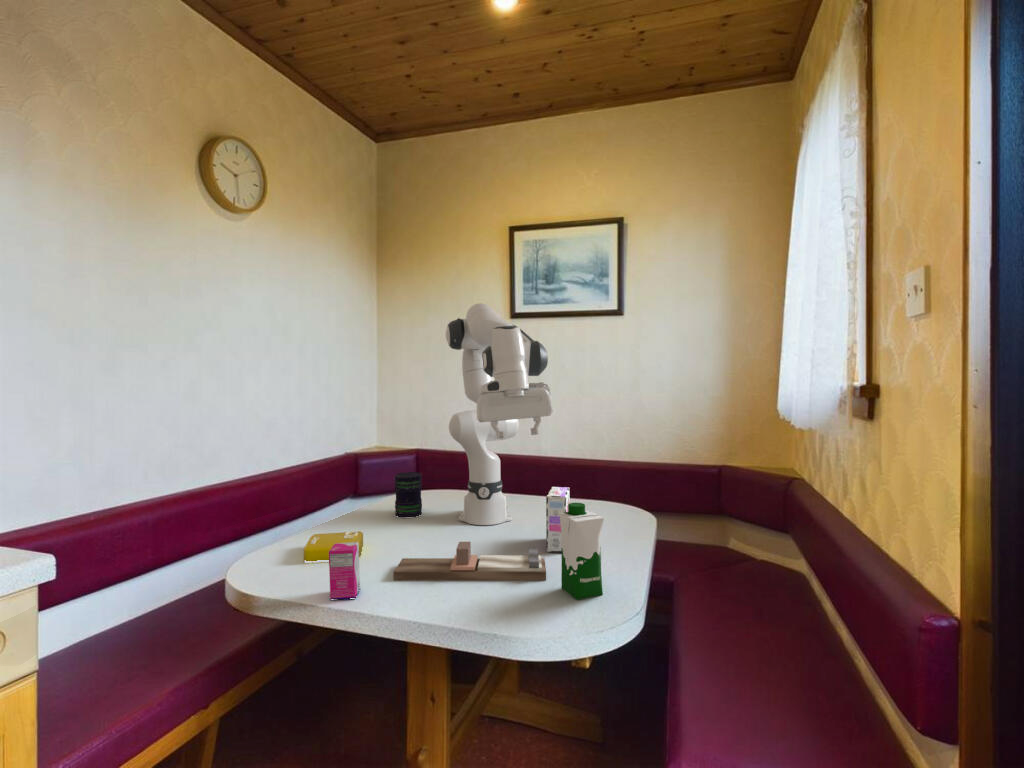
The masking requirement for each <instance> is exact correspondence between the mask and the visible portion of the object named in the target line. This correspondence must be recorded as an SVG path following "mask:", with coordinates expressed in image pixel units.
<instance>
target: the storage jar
mask: <svg viewBox="0 0 1024 768" xmlns="http://www.w3.org/2000/svg"><path fill="white" fill-rule="evenodd" d="M422 482H423V478H422V473H421V472H417V471H409V472H408V471H406V472H399V473H395V474H394V489H395V501H394V509H395V510H394V512H395V515H396V516H398V517H414V518H417V517H416V516H418V517H420V516H419V515H421V514H422V515H423V512H422V510H423V502H422V501H423V500H422V487H423V486H422V484H423V483H422ZM422 515H421V516H422ZM396 516H395V517H396ZM398 517H397V518H398Z"/></svg>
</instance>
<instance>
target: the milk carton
mask: <svg viewBox="0 0 1024 768" xmlns="http://www.w3.org/2000/svg"><path fill="white" fill-rule="evenodd" d="M559 515H560V524H561V590H563V591H564V592H565V593H567V594H568V595H569V596H571V597H572V598H573V599H575V600H576V601H579V600H583V599H588V598H593V597H598V596H603V577H602V530H603V525H604V520H605V518H604V517H603V516H601V515H599V514H597V513H595V512H592V511H591V510H587V509H586V504H585V503H582V502H570V504H568V512H564V513H559Z"/></svg>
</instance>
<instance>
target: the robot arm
mask: <svg viewBox="0 0 1024 768" xmlns="http://www.w3.org/2000/svg"><path fill="white" fill-rule="evenodd" d="M445 340H446V343H447V344H448V347H449V348H451V349H452V350H458V351H460V350H463V352H462V357H461V358H462V360H461V362H462V363H461V365H462V366H461V367H462V368H461V370H462V378H463V379H462V380H463V387H464V395H465V396H466V398H467V399H468V400H469V401H472V402H473V403H474V404H476V410H464V411H461V412H460V411H459V412H456V413H454V414H453V415H452V416H451V418H450V419H449V421H448V422H449V424H448V431H449V434H450V436H451V437H452V439H453V440H454V441H456V442H457V443H458V444H460V446H461V447H462V448H463V450H464V451H465V454H466V457H467V461H468V472H469V473H468V474H469V475H468V477H469V480H468V483H467V491H468V492H467V494H465V496H464V497H463V513H462V514H461V515H459V517H458V521H460V522H464V523H467V524H470V525H475V526H492V525H499V524H502V523H505V522H509V521H510V522H511V521H512V520H513V517H512V515H511V514H510V513H509V511H508V510H507V509H508V506H507V496H506V495H505V494H504V493H503V492H502V490H503V481H502V478H501V473H502V472H501V459H500V457H499V455H497V454H496V453H495V452H493V451H491V450H488V449H487V445H486V442H493V441H504V440H508V439H511V438H514V437H516V435H517V433H518V432H519V429H520V421H519V420H521V419H524V420H525V419H531V418H532V419H533V423H534V426H533V427H532V428H531V427H530V434H531V436H537V435H539V429H538V428H539V426H540V424H541V422H542V420H541V418H542V417H549V416H552V413H553V411H554V410H553V405H552V400H551V389H550V386H549V384H547V383H544V382H543V381H542V382H530V383H529V377H539V376H540V375H541V374H543V372H544V371H545V370H546V368H547V367H548V363H549V361H548V360H549V357H548V353H547V349H546V347H544V345H543V344H542V343H540V341H538V340H534V339H533V338H532V337H530V336H529V334H527V333H526V332H525V331H524V330H522V329H521V327H519V326H517V325H515V324H513V323H510V322H509V321H506V320H505V319H503V318H502V317H500V316H499V315H498V314H497V312H496V311H495V310H494V308H492V307H491V306H489V305H488V304H486V303H479V302H478V303H475V304H473V305H471V306H470V307H469V308H468V310H467V312H466V316H465V318H460V317H458V318H457V319H454V320H452V321H449V323H448V324H447V326H446V330H445Z"/></svg>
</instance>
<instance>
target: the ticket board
mask: <svg viewBox="0 0 1024 768" xmlns="http://www.w3.org/2000/svg"><path fill="white" fill-rule="evenodd" d="M453 559H454V557H452V558H451V557H450V558H448V557H447V558H444V557H443V558H438V557H436V558H434V557H433V558H425V557H424V558H423V557H422V558H421V557H420V558H419V557H418V558H416V557H415V558H413V557H412V558H410V557H408V558H407V557H405V558H402V559H401V560H400V561H399V563H398V564H397V566H396V567H395V569H394V571H393V577H392V578H393V581H547V569H546V567H547V566H546V560H545V559H546V558H544V557H543V558H542V556H541V554H539V549H538V548H528V555H527V554H526V555H523V554H522V555H521V554H520V555H515V554H513V555H511V554H510V555H509V554H508V555H506V554H503V555H502V554H501V555H500V554H495V555H493V554H492V555H490V554H488V555H485V554H484V555H483V554H481V555H480V557H478V559H477V563H476V567H475V570H451V564H452V562H453Z"/></svg>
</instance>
